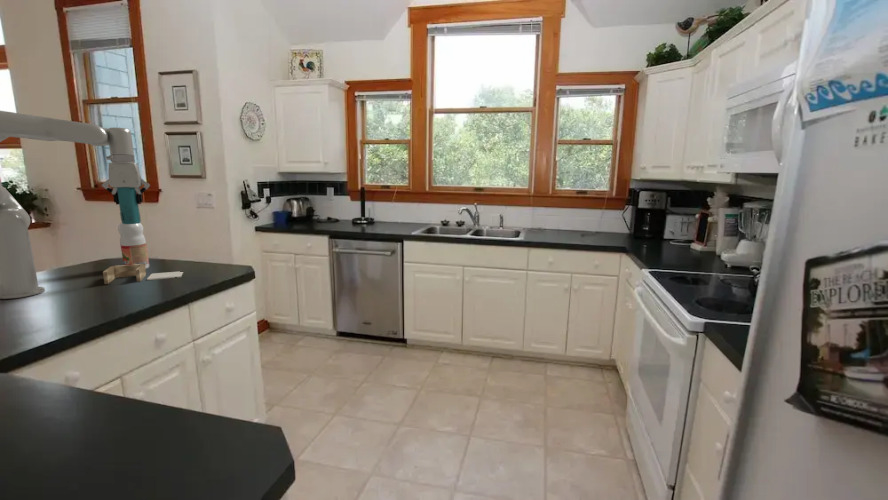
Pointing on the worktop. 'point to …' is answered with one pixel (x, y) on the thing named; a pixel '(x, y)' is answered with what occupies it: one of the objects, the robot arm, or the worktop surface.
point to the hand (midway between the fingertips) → (128, 203)
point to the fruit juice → (133, 244)
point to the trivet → (164, 275)
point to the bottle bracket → (124, 272)
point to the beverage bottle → (128, 205)
